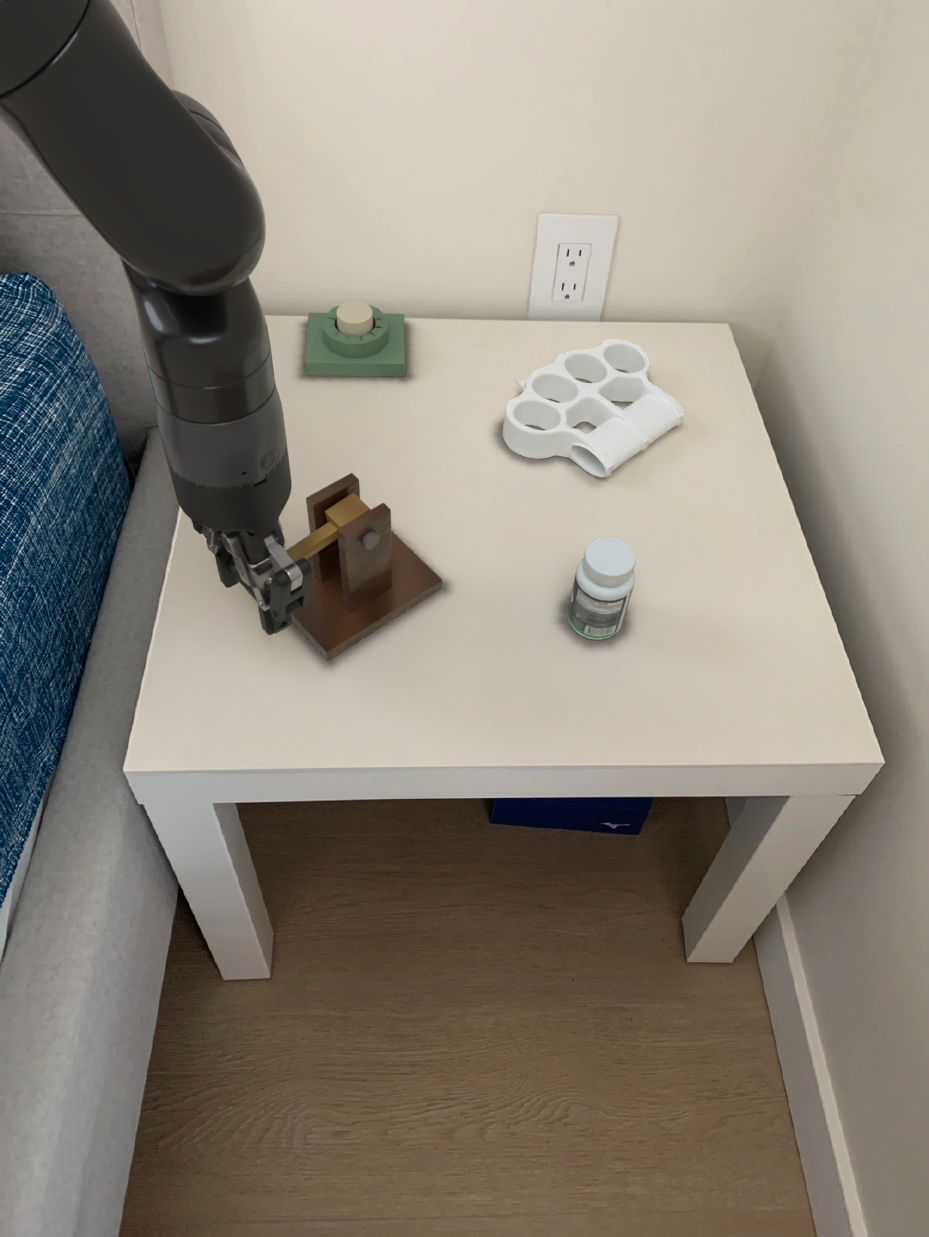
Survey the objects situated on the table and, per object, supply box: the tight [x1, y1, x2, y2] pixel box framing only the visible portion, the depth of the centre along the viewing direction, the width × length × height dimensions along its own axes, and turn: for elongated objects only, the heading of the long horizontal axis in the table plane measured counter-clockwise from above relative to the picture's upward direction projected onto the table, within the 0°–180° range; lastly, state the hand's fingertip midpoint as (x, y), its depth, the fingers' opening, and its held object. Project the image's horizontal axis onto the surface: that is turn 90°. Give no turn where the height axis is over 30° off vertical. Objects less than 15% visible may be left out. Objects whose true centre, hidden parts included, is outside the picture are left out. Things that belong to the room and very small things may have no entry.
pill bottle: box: [567, 536, 637, 641], centre depth 79 cm, size 5×5×8 cm
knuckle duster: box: [502, 338, 685, 478], centre depth 96 cm, size 3×18×15 cm
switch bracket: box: [268, 472, 443, 661], centre depth 79 cm, size 12×9×11 cm
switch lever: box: [227, 493, 371, 603], centre depth 74 cm, size 11×5×2 cm, turn 131°
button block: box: [304, 304, 406, 377], centre depth 100 cm, size 10×8×4 cm
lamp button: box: [336, 300, 373, 336], centre depth 98 cm, size 4×4×2 cm
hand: (256, 602), depth 75 cm, fingers open, 5 cm apart
